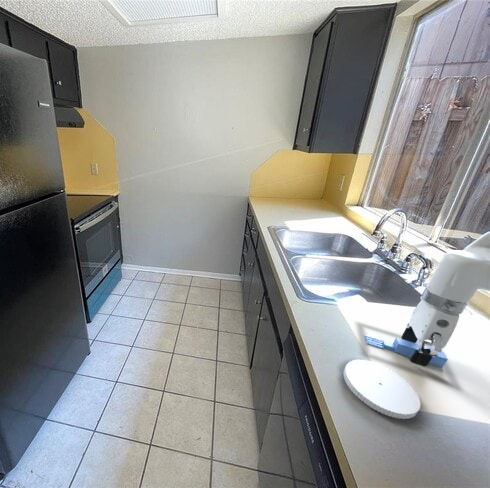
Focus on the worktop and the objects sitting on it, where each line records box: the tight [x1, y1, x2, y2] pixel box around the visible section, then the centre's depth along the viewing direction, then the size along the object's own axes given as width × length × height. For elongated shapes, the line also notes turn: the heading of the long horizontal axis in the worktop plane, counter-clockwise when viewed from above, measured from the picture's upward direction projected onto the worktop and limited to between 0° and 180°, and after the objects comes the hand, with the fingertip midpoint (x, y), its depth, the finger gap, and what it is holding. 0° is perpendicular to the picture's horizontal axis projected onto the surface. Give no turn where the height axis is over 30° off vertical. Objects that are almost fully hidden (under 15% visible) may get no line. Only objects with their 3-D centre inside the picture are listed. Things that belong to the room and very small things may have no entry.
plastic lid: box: [342, 359, 422, 420], centre depth 60 cm, size 14×14×2 cm
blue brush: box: [364, 334, 449, 368], centre depth 71 cm, size 16×4×4 cm, turn 61°
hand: (412, 351), depth 70 cm, fingers open, 8 cm apart
